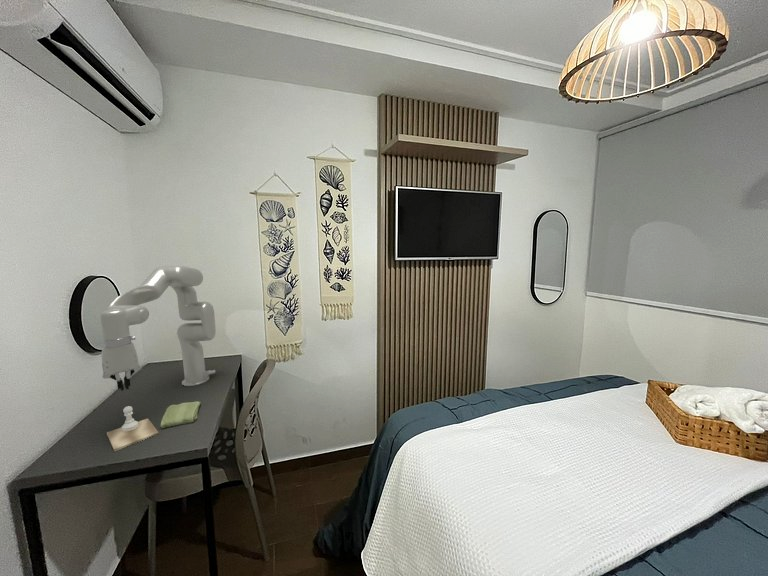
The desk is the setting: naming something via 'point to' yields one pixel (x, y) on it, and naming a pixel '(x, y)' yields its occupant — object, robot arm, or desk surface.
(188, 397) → the desk surface
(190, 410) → the washcloth
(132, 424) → the chess pawn
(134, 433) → the oak pad
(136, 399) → the desk surface
